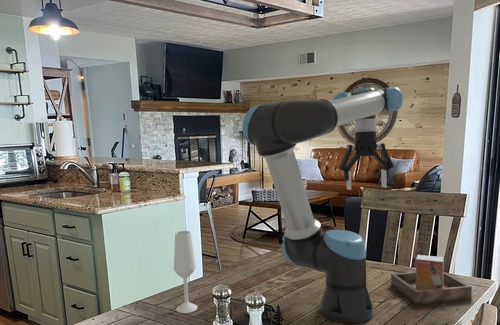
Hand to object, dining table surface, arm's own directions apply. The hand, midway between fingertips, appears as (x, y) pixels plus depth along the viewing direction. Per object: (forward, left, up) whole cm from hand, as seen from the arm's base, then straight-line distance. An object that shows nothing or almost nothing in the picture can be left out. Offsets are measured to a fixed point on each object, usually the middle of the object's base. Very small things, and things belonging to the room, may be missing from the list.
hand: (366, 188), depth 147 cm
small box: (+11, -22, -31) cm, 40 cm away
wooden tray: (+11, -22, -32) cm, 40 cm away
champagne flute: (-67, -17, -32) cm, 76 cm away
